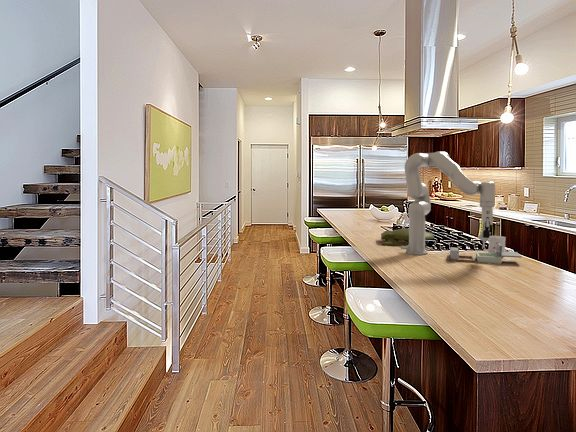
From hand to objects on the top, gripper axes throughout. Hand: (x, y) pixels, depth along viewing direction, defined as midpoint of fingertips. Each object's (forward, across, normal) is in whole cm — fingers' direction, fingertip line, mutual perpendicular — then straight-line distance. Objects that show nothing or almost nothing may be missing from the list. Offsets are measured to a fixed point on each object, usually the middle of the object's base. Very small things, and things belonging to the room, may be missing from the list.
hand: (485, 236), depth 271 cm
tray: (+13, 0, +13) cm, 19 cm away
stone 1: (+14, +3, +16) cm, 21 cm away
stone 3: (+2, 0, +2) cm, 3 cm away
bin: (+14, 0, -2) cm, 14 cm away
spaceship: (+14, +51, +44) cm, 69 cm away
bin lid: (+10, 0, -12) cm, 15 cm away
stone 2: (+14, -3, +16) cm, 21 cm away
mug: (+14, +18, -7) cm, 24 cm away
